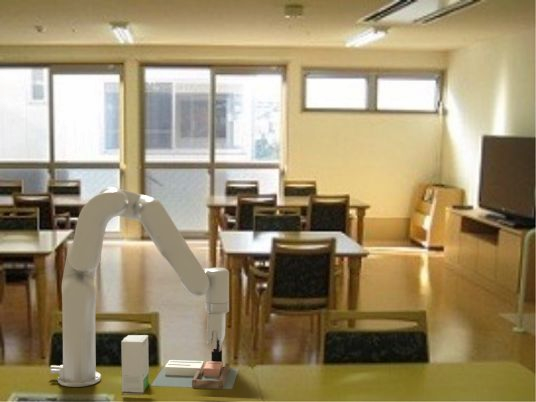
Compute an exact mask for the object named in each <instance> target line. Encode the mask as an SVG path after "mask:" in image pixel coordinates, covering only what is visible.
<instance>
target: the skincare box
mask: <svg viewBox="0 0 536 402" xmlns="http://www.w3.org/2000/svg"><path fill="white" fill-rule="evenodd" d="M120 345H121V347H120V349H121V392H122V393H121V395H123V396H124V395H125V396H143V395H144V392H145V391H146V389H147V388H148V386H149V383H150V374H149V373H150V372H149V370H150V369H149V367H150V365H149V364H150V363H149V335H147V334H142V335H141V334H140V335H139V334H131V335H130V334H128V335H127V336H125V337H123V339H122V340H121V343H120Z"/></svg>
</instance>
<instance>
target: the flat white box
mask: <svg viewBox="0 0 536 402" xmlns="http://www.w3.org/2000/svg"><path fill="white" fill-rule="evenodd" d="M204 366H205V361H204V360H180V359H179V360H177V359H170V360H168V361H167V363H166V364H165V375H183V376H195V374H196V372H197V370H201V374H202V372H203V368H204Z"/></svg>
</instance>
